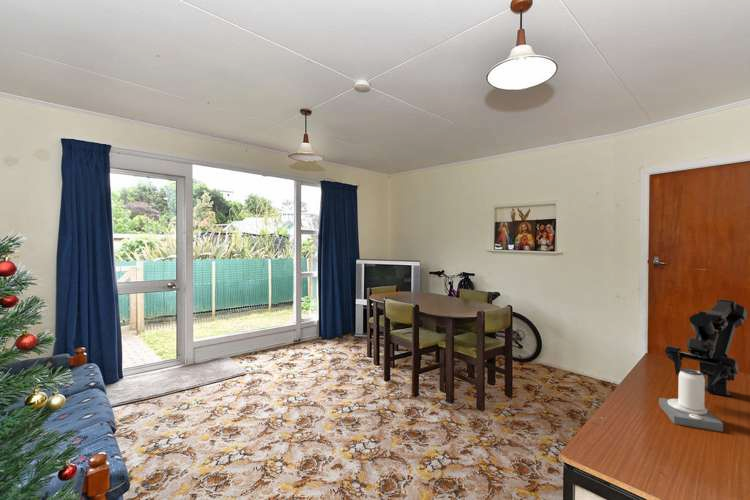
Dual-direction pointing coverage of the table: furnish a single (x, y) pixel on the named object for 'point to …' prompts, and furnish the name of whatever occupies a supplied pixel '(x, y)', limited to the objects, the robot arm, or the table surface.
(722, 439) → the table surface
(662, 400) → the scale
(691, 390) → the can
